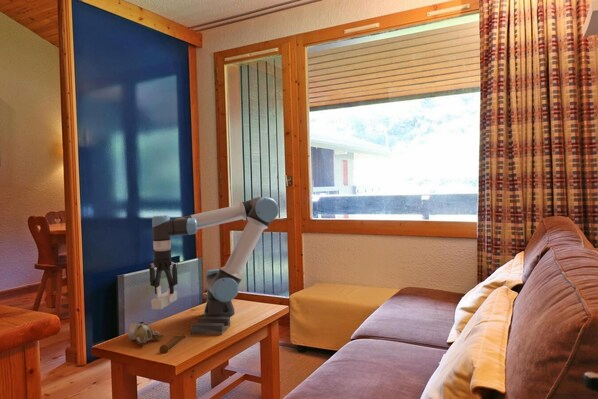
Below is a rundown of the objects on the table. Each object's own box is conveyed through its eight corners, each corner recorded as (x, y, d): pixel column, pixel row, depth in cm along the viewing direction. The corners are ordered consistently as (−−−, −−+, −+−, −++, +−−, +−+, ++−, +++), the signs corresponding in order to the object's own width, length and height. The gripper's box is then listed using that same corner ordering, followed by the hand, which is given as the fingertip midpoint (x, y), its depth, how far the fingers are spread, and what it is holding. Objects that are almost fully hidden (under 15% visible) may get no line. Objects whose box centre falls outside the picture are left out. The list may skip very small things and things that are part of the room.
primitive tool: (174, 336, 178) (174, 328, 178) (187, 336, 178) (186, 328, 178) (158, 354, 159) (158, 345, 159) (172, 354, 159) (172, 345, 159)
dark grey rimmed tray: (201, 325, 191) (200, 316, 191) (230, 325, 189) (229, 317, 189) (191, 334, 179) (190, 325, 179) (221, 334, 177) (221, 325, 177)
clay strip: (168, 299, 193) (167, 290, 193) (177, 299, 193) (176, 290, 193) (151, 309, 178) (151, 300, 177) (161, 309, 177) (161, 299, 177)
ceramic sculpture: (142, 315, 181) (164, 321, 173) (142, 334, 181) (165, 341, 173) (120, 322, 172) (143, 329, 164) (120, 342, 172) (143, 350, 164)
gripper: (139, 251, 182) (142, 303, 183) (177, 250, 180) (179, 303, 180) (148, 248, 190) (150, 299, 190) (184, 248, 187) (186, 298, 188)
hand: (164, 301), depth 185 cm, fingers closed on clay strip, 4 cm apart
